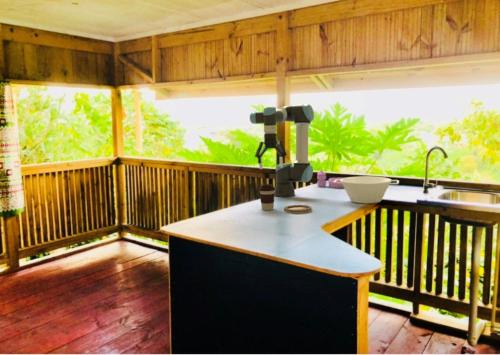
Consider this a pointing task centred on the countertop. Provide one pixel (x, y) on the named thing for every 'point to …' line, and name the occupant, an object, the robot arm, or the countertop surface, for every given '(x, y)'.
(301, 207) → the round tray
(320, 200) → the countertop surface
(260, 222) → the countertop surface
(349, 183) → the pot
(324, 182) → the container set
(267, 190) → the coffee cup
